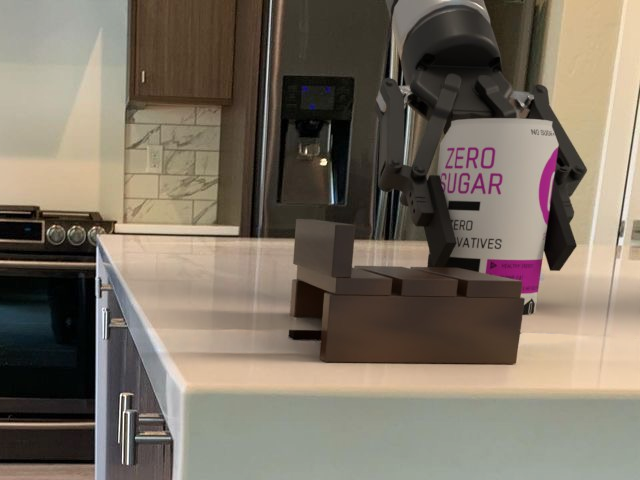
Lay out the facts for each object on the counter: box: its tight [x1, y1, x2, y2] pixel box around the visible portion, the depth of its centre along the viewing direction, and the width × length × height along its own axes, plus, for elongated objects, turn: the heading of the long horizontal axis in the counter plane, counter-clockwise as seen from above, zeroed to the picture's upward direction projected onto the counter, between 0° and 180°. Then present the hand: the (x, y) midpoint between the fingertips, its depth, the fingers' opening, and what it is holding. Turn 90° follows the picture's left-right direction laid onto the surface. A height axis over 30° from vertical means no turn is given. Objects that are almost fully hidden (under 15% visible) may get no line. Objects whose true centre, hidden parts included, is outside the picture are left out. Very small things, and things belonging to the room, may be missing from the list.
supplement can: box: [426, 118, 559, 335], centre depth 71 cm, size 8×8×15 cm
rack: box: [288, 218, 525, 365], centre depth 61 cm, size 12×10×8 cm
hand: (504, 256), depth 68 cm, fingers closed on supplement can, 8 cm apart
